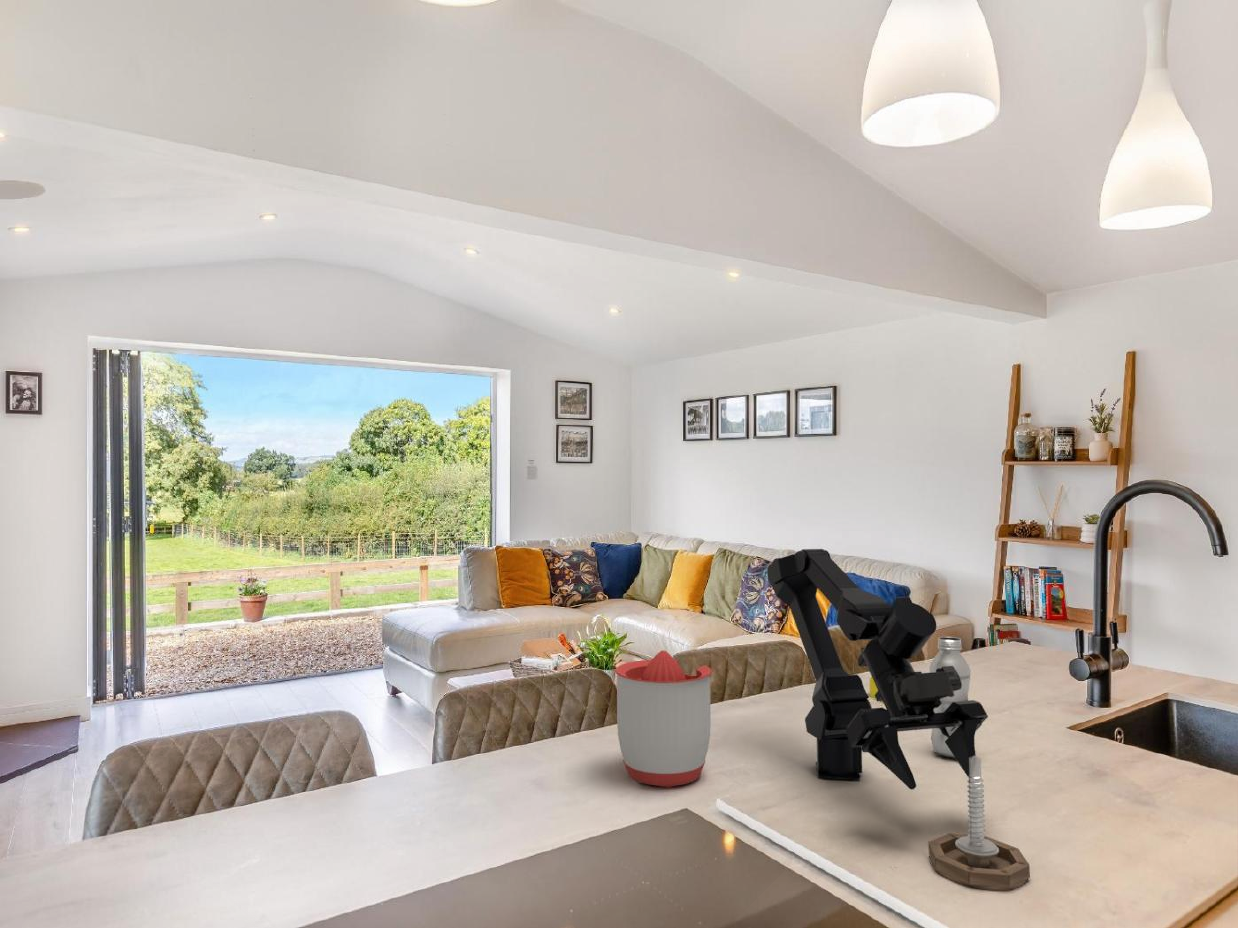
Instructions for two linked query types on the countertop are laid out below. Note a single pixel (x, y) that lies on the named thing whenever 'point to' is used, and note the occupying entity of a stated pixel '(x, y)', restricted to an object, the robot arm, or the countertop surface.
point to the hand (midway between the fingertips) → (945, 784)
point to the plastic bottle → (952, 657)
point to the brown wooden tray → (1001, 874)
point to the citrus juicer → (663, 720)
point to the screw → (976, 822)
